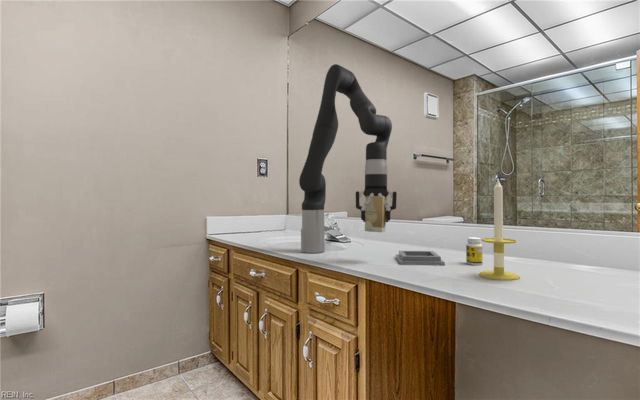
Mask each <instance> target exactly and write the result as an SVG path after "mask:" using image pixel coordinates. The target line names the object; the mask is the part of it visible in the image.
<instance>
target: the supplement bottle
mask: <svg viewBox="0 0 640 400" xmlns="http://www.w3.org/2000/svg"><path fill="white" fill-rule="evenodd" d="M466 242H467V243H466V246H465V248H466V249H465V250H466V252H465V254H466V257H465V259H466V264H467V265H471V266H481V265H483V244H482V238H480V237H474V236H472V237H467V241H466Z"/></svg>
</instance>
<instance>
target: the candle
mask: <svg viewBox="0 0 640 400" xmlns="http://www.w3.org/2000/svg"><path fill="white" fill-rule="evenodd" d="M503 189H504V188H503V185H501V183H500V179H497V180H496V182H495V185H494V186H493V224H494V225H493V233H494V234H493V235H494V237H488V238H487V237H484V238H481V242H484V243H489V244H493V270H482V271H479V273H478V275H479V276H480V277H482V278H485V279H486V278H487V279H491V280H498V281H517V280H520V279H521V278H520V277H521V276H520V275H519V274H517V273H513V272H508V271H505V245H507V244H516V243H517V240H516V239H512V238H504V220H503V219H504V212H503V211H504V209H503V208H504V206H503V205H504V203H503V199H504V198H503V197H504V196H503V195H504V193H503V192H504V191H503Z"/></svg>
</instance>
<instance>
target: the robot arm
mask: <svg viewBox="0 0 640 400" xmlns="http://www.w3.org/2000/svg"><path fill="white" fill-rule="evenodd" d="M326 72H327V73H326V75H325V79H324V83H323V89H322V96H321V101H320V106H319V111H318V114H317V117H316V121H315V124H314V128H313V133H312V134H311V135H312V136H311V141H310V144H309V148H308V153H307V156H306V159H305V163H304V165H303V168H302V170H301V172H300V175H299V179H298V182H299V187H300V189H301V190H302V191H303V192H304V195H303V196H304V198H303V201H302V203H301V229H300V247H301V248H300V252H301V253H306V254H320V253H324V252H325V250H326V247H325V245H326V244H325V243H326V242H325V233H326V232H325V204H326V198H327V197H326V196H327V195H326V194H327V193H326V192H327V191H326V187H327V186H326V185H327V183H326V182H327V181H326V179H325V178H326V177H325V176H324V175H323V174H322V172H323V168H324V163H325V161H326V158H327V156H328V155H329V153H330V150H332V148H333V145H334V144H335V140H336V137H337V135H338V134H337V133H338V129H339V118H338V115H337V108H336V96H337V93H339V94H342V95H344V96H346V98H348V99H349V106H350V108H351V110H352V112H353V113H354V114H355V116H356V118H357V119H358V124H359V128H360V130H361V132H363V134H365V135H367V136H373V137H376V138H375V141H372V142H369V143H367V144H366V145H365V164H364V165H365V166H364V190H363V191H358V190H357V191H355V208H356V209H357V210H359V211H360V219H361V221H362V222H363V223H365V208H366V207H367V205H368V204H369V202H370V201H371V199H372V198H373V196H384V197H385V198H386V197H387V198H388V196H390V199H391V206H390V205H389V204H388V202H387V200H385V199H384V206H385V207H386V223H389V221H390V220H391V211H393V210H396V209H397V191H389V190H388V161H387V160H388V159H387V157H388V156H387V155H388V154H387V151H388V150H387V148H388V146H389V145H388V144H389V142H390V137H391V133H392V130H393V129H392V128H393V124H392V120H391V118H390V117H389V116H386V115H381V114H377V109H376V106H375V105H374V104H373V103H372V102H371V100H370V99H369V97H368V96H367V94H365V93H364V91H363V90H362V87H361V86H360V83H359V81H358V79H357V77H356V75H355V74H354V72H352V71H351V70H349V69H347V68H346V67H344V66H342V65H340V64H337V63H334V64H332V65H331V66H330V67H329V68H328V70H327V71H326ZM362 196H364V198H366V197H367V196H369V197H368V199H367V200H366V199H365V201H364V204H363V205H362V206H361V205H360V198H362ZM369 199H370V200H369ZM367 201H368V202H367Z"/></svg>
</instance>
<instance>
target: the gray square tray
mask: <svg viewBox="0 0 640 400" xmlns="http://www.w3.org/2000/svg"><path fill="white" fill-rule="evenodd" d="M395 258H396V260H397V263H398V264H399V265H402V266H403V265H405V266H406V265H408V266H446V265H445V264H446V262H445V261H444V260H443V259H442V256H441V255H439V254H438V253H437V252H435V251H433V250H398V254H395Z"/></svg>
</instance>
